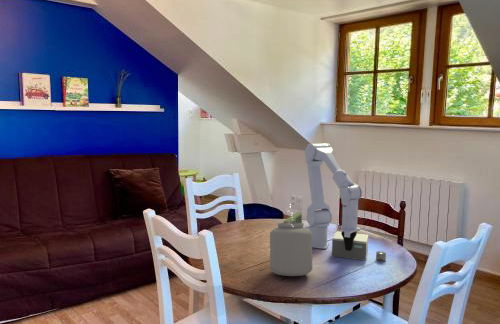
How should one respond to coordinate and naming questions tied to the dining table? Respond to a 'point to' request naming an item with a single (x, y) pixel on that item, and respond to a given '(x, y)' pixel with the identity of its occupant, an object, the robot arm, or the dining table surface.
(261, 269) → the dining table surface
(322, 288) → the dining table surface
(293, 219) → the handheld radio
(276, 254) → the jar
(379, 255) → the stand
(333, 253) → the grey box with handle
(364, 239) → the box
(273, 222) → the dining table surface
